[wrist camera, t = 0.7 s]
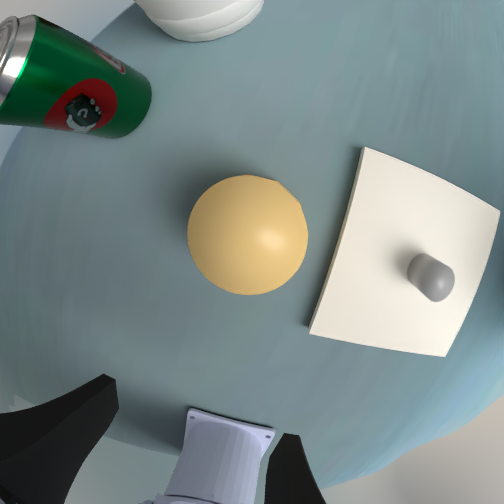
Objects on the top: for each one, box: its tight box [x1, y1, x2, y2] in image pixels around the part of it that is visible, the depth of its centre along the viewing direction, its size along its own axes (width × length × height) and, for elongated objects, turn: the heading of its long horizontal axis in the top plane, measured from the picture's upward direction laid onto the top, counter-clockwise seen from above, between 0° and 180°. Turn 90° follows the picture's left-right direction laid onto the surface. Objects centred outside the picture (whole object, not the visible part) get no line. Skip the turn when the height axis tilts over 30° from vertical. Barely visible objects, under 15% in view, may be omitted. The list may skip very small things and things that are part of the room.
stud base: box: [308, 147, 500, 357], centre depth 14 cm, size 12×12×3 cm
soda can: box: [0, 15, 152, 139], centre depth 10 cm, size 5×5×12 cm
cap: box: [187, 174, 308, 295], centre depth 14 cm, size 5×5×5 cm
